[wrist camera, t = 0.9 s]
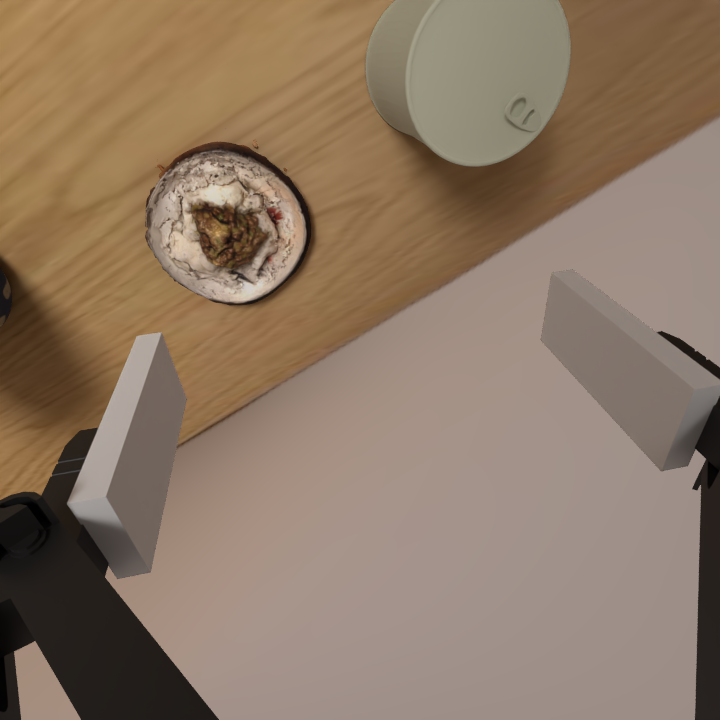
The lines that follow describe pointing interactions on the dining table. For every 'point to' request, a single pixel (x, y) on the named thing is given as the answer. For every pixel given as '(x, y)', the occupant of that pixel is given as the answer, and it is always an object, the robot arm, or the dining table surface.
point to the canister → (4, 298)
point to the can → (469, 73)
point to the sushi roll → (227, 223)
